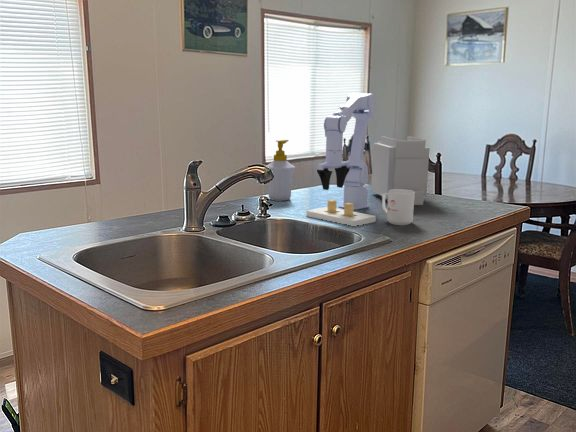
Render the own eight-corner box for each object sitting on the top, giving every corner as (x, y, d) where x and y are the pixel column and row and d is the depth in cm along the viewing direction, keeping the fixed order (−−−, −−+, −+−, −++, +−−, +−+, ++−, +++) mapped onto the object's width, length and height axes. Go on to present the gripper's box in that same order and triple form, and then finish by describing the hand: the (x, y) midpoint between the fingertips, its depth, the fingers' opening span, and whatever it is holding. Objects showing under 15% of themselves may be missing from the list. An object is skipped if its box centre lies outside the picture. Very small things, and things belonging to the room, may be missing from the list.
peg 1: (337, 217, 199) (338, 200, 198) (331, 218, 197) (332, 201, 196) (331, 215, 202) (331, 199, 200) (325, 216, 199) (325, 200, 198)
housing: (328, 211, 208) (328, 206, 208) (375, 221, 193) (375, 216, 192) (306, 216, 200) (306, 210, 200) (353, 226, 185) (354, 221, 184)
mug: (417, 223, 192) (419, 191, 189) (403, 227, 186) (405, 194, 183) (389, 217, 200) (390, 187, 198) (374, 221, 194) (375, 189, 192)
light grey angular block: (390, 205, 222) (393, 140, 217) (370, 193, 248) (373, 135, 242) (430, 204, 225) (435, 140, 220) (406, 193, 251) (410, 135, 245)
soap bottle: (300, 198, 233) (301, 140, 228) (284, 203, 223) (285, 142, 217) (275, 195, 240) (276, 138, 234) (258, 200, 229) (258, 140, 224)
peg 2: (354, 220, 194) (355, 203, 193) (349, 222, 192) (349, 205, 190) (347, 219, 196) (348, 202, 195) (341, 220, 194) (342, 203, 192)
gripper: (338, 148, 202) (337, 185, 205) (311, 150, 192) (310, 189, 195) (353, 149, 197) (352, 187, 200) (326, 152, 187) (325, 191, 190)
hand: (332, 188), depth 197 cm, fingers open, 7 cm apart
